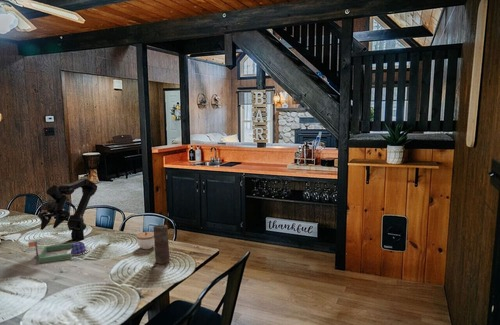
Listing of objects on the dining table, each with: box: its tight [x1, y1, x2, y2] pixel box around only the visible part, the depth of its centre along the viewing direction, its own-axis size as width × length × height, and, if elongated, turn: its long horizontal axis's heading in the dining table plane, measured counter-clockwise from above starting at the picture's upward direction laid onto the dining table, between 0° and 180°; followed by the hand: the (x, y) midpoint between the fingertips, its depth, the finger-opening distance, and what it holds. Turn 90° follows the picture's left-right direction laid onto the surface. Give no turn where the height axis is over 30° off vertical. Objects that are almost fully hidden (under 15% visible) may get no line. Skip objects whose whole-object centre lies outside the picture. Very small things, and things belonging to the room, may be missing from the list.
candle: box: [152, 224, 171, 265], centre depth 182 cm, size 8×7×20 cm
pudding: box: [66, 241, 91, 256], centre depth 197 cm, size 12×12×5 cm
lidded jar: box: [136, 231, 155, 250], centre depth 203 cm, size 11×11×9 cm
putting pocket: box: [27, 241, 75, 264], centre depth 192 cm, size 21×18×9 cm
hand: (47, 228), depth 190 cm, fingers open, 9 cm apart
